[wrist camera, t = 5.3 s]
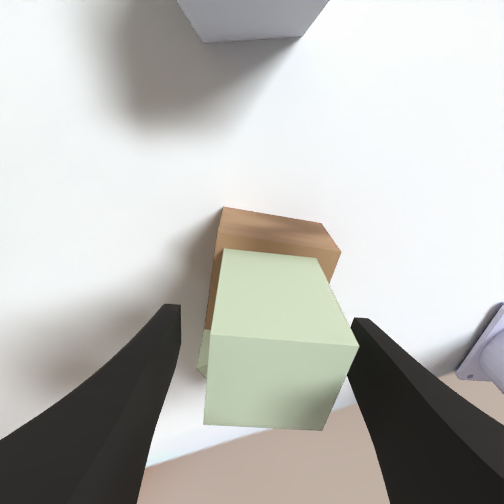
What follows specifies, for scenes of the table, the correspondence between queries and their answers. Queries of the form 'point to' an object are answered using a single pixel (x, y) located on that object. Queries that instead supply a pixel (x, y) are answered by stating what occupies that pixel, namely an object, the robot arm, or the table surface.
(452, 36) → the table surface
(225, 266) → the sage block
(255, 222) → the walnut plinth
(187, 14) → the slate block
